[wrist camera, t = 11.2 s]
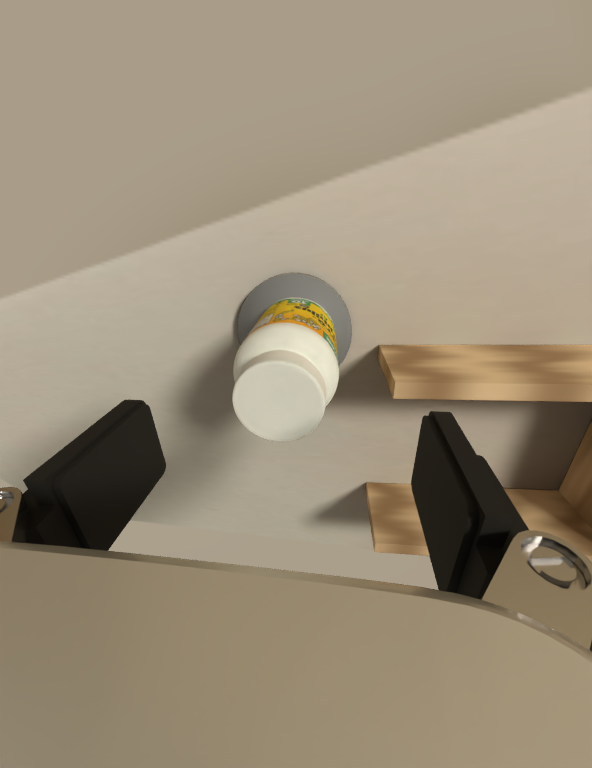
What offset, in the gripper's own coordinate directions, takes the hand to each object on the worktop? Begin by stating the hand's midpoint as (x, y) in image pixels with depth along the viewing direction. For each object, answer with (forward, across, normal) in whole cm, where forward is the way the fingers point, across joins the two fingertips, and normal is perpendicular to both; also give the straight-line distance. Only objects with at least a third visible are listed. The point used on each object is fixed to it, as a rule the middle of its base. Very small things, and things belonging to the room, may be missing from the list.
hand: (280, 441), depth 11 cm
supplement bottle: (+12, +1, 0) cm, 12 cm away
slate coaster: (+13, +1, 0) cm, 13 cm away
